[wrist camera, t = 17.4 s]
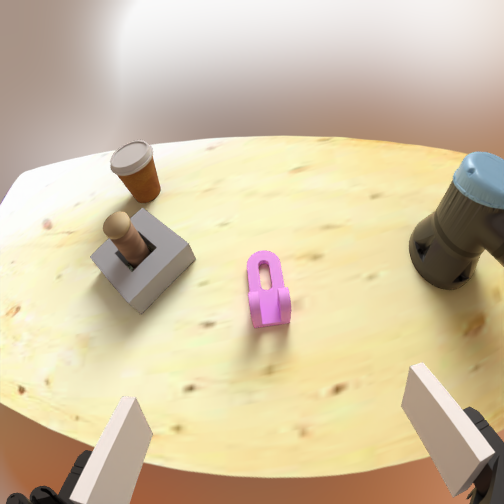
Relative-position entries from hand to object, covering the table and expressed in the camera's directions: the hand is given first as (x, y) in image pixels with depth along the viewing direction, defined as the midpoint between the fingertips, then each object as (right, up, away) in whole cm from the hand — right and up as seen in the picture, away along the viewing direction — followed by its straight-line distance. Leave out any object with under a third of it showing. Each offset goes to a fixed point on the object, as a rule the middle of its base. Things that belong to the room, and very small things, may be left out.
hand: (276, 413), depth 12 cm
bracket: (+1, +1, +36) cm, 36 cm away
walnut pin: (-21, +5, +40) cm, 46 cm away
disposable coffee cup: (-25, +21, +51) cm, 60 cm away
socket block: (-21, +5, +40) cm, 46 cm away
